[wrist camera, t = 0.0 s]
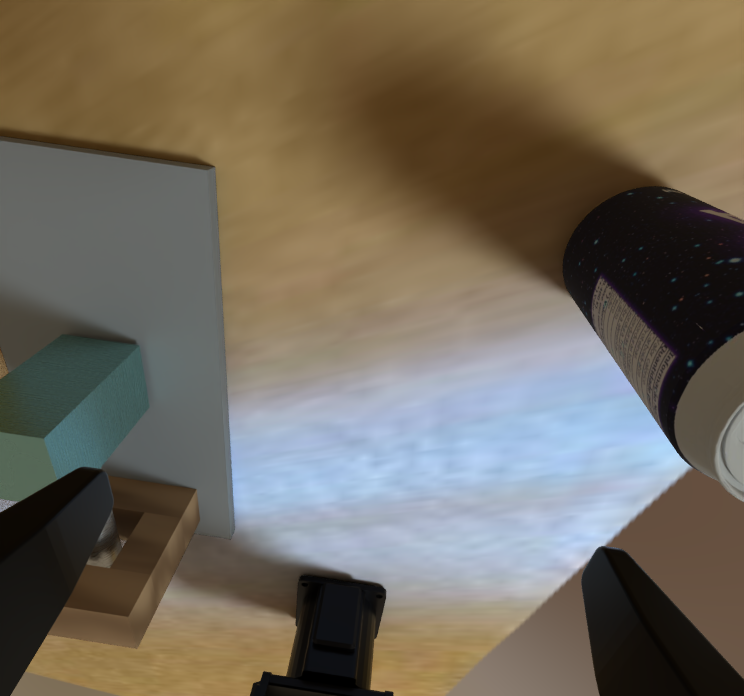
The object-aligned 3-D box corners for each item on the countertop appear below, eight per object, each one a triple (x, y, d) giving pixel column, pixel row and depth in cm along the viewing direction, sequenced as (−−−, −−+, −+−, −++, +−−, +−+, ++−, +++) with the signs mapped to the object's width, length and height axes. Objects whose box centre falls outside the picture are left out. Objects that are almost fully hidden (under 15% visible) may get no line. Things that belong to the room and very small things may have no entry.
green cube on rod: (174, 552, 32) (117, 661, 26) (117, 543, 32) (49, 650, 26) (139, 345, 23) (43, 438, 18) (62, 334, 24) (-60, 422, 18)
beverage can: (666, 315, 21) (894, 539, 11) (542, 302, 22) (654, 510, 11) (723, 188, 18) (1105, 333, 8) (579, 175, 19) (775, 300, 8)
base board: (234, 529, 32) (230, 539, 31) (65, 503, 32) (58, 512, 32) (215, 166, 20) (207, 170, 19) (-60, 127, 20) (-77, 129, 19)
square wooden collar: (200, 520, 31) (137, 648, 24) (82, 502, 31) (-15, 624, 24) (196, 489, 29) (128, 617, 22) (72, 470, 29) (-34, 591, 22)
